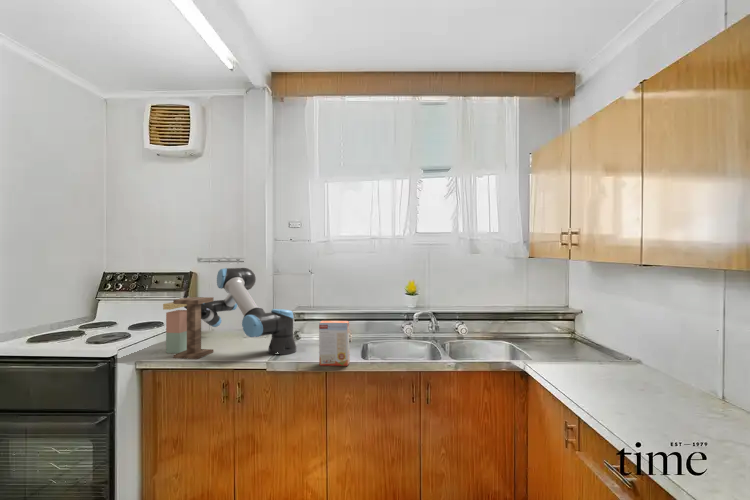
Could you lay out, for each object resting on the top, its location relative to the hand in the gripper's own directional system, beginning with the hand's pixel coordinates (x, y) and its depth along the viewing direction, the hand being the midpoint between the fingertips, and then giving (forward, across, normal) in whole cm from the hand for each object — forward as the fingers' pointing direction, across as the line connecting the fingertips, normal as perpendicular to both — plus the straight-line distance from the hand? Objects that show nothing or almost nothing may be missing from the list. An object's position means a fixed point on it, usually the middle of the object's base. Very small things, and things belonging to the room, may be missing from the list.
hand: (183, 298), depth 223 cm
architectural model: (-42, -88, -9) cm, 98 cm away
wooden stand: (-4, -14, -30) cm, 34 cm away
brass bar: (+1, 0, -5) cm, 5 cm away
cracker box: (+1, -93, -33) cm, 99 cm away
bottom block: (-10, 0, -27) cm, 29 cm away
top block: (-5, 0, -17) cm, 18 cm away
